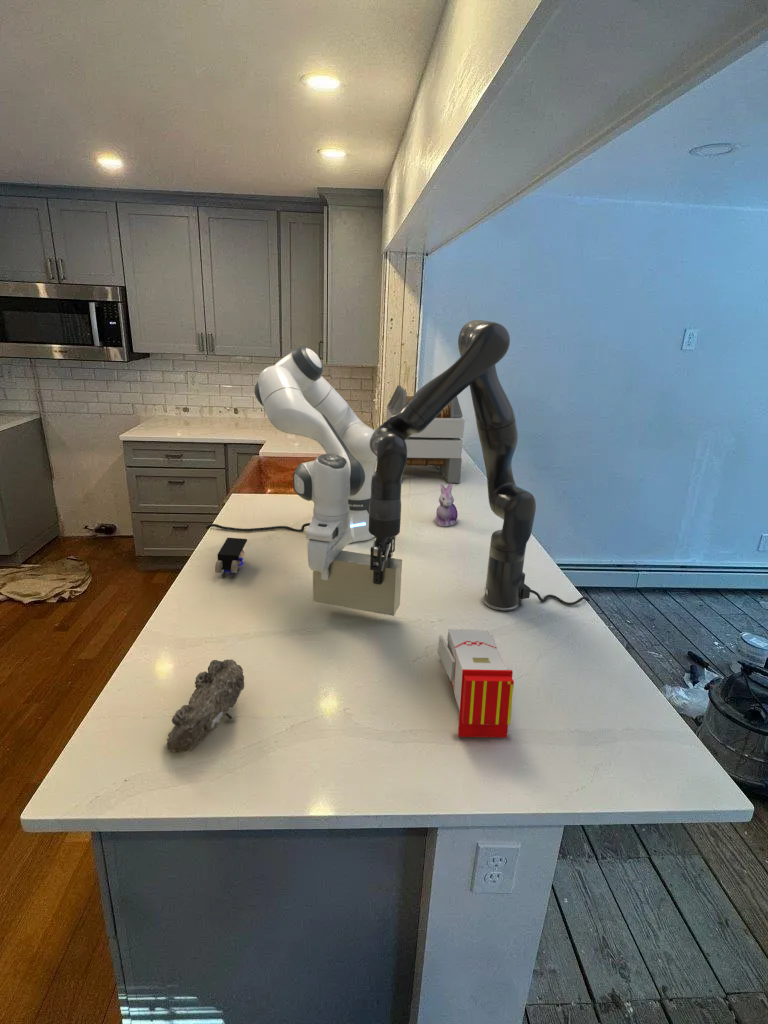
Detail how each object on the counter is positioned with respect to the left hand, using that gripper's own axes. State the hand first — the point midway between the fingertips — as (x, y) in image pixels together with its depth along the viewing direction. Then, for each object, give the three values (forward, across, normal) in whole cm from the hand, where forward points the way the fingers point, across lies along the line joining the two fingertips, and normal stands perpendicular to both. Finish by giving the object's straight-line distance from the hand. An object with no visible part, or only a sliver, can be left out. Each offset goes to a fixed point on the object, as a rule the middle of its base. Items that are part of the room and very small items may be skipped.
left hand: (330, 572), depth 143 cm
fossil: (+11, +45, -7) cm, 47 cm away
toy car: (+11, -13, -36) cm, 40 cm away
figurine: (+12, -76, +17) cm, 79 cm away
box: (+7, 0, +7) cm, 10 cm away
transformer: (+12, -139, -7) cm, 140 cm away
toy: (+11, +21, +39) cm, 46 cm away
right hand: (-1, 0, +14) cm, 14 cm away
